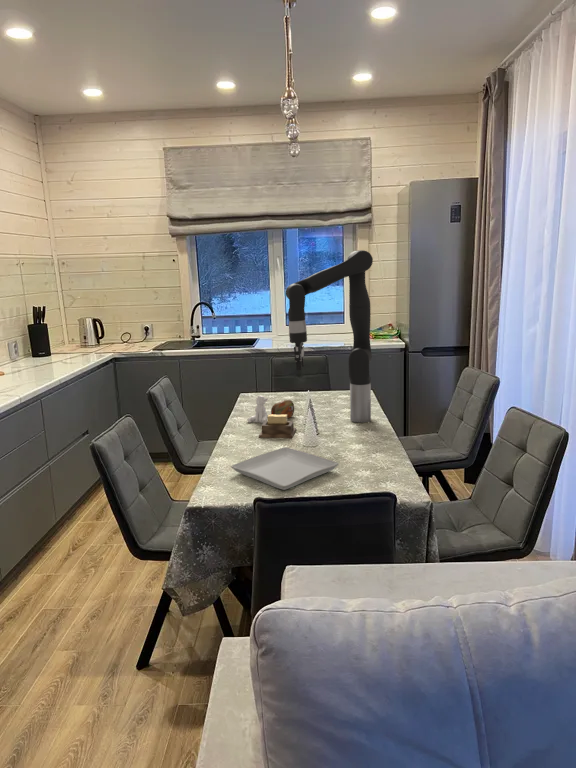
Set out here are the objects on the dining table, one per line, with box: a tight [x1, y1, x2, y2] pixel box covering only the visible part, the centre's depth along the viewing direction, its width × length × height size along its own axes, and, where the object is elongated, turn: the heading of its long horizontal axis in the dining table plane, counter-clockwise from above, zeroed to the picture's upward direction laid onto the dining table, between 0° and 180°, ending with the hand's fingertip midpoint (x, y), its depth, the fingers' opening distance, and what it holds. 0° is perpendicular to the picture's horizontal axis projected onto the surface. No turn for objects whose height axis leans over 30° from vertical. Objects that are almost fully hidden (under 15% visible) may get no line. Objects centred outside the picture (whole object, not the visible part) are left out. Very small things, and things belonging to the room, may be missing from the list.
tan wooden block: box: [267, 414, 288, 425], centre depth 238 cm, size 8×3×7 cm, turn 81°
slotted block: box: [258, 420, 297, 439], centre depth 239 cm, size 14×12×4 cm
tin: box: [270, 399, 295, 419], centre depth 261 cm, size 15×3×8 cm, turn 143°
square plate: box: [230, 446, 340, 490], centre depth 194 cm, size 27×27×4 cm
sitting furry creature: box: [246, 395, 269, 424], centre depth 258 cm, size 10×9×12 cm
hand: (300, 368), depth 244 cm, fingers open, 8 cm apart
